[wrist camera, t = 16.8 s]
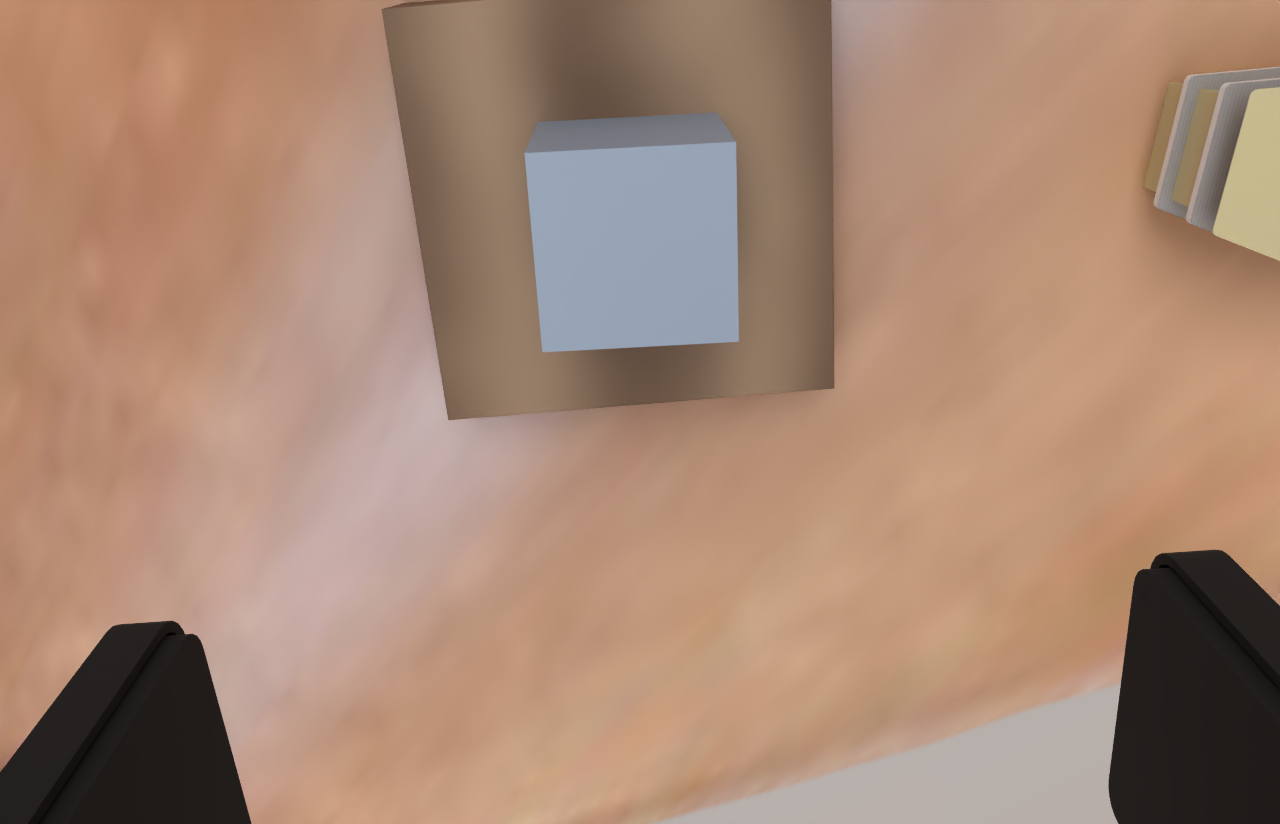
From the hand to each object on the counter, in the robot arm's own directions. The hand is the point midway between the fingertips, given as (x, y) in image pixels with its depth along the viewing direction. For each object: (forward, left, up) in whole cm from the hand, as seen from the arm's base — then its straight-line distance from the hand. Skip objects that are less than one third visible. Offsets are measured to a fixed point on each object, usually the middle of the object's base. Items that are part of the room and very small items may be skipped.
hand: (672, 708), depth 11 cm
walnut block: (0, 0, -26) cm, 26 cm away
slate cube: (0, 0, -22) cm, 22 cm away
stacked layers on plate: (-20, 0, -26) cm, 33 cm away
